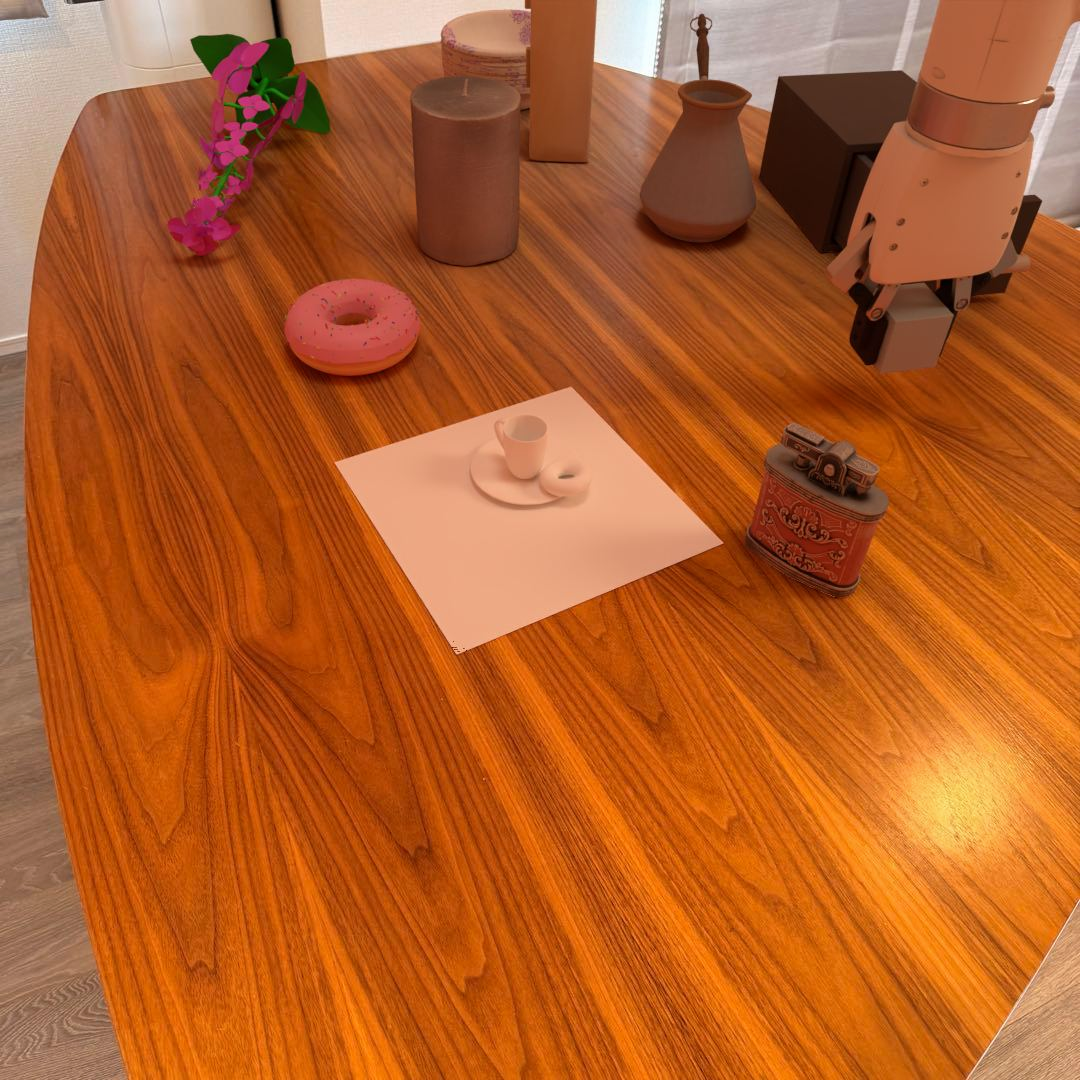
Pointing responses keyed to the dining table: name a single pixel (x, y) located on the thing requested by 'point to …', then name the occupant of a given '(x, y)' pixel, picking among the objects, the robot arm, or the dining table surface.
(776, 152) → the dark brown boxy casing
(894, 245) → the robot arm
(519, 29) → the paper bowls
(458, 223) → the pillar candle
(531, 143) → the toy refrigerator
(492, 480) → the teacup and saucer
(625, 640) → the dining table surface
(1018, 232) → the drawer
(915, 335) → the block
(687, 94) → the coffee pot
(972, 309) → the dining table surface
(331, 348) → the doughnut
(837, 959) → the dining table surface
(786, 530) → the lighter
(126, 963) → the dining table surface
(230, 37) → the pink flower sprig
